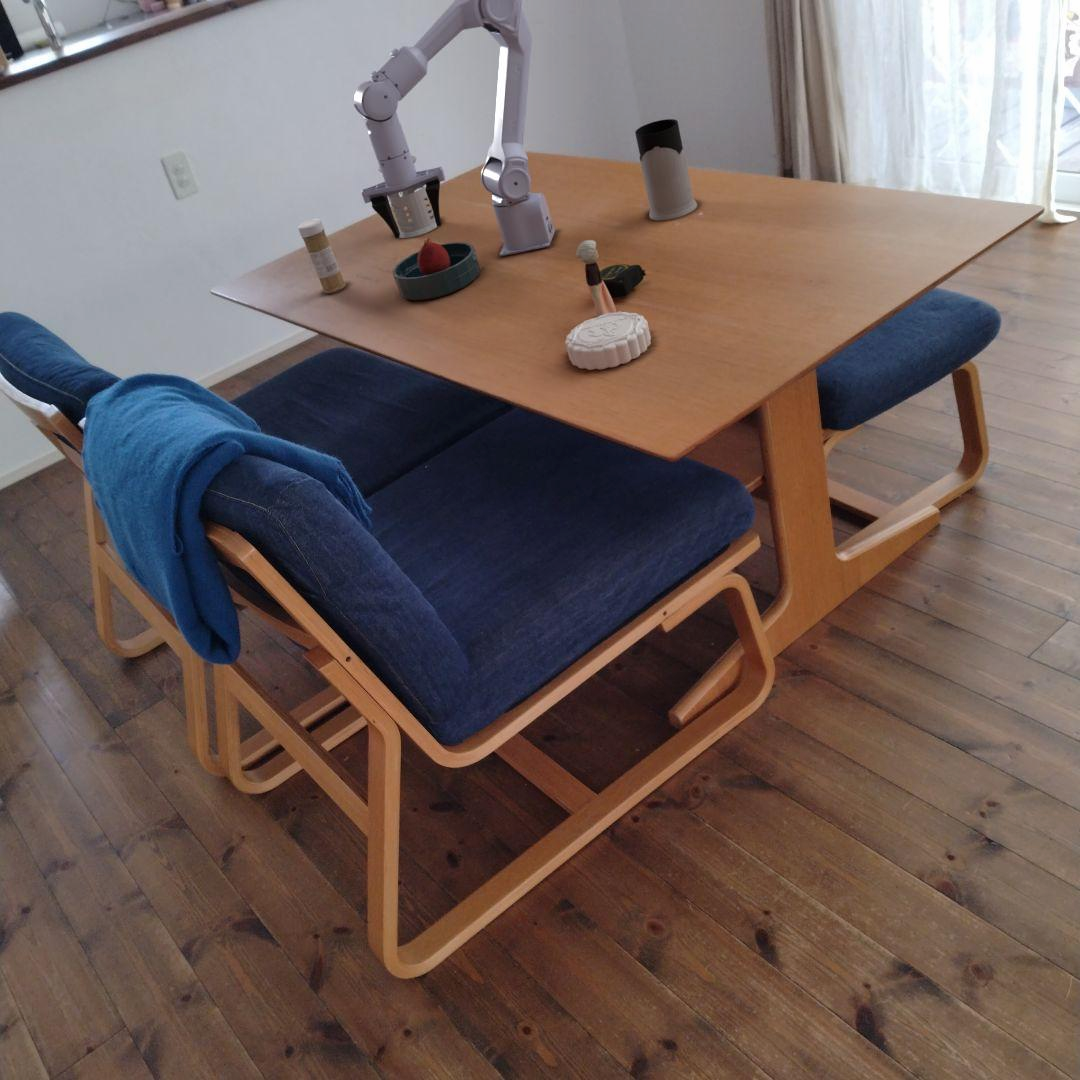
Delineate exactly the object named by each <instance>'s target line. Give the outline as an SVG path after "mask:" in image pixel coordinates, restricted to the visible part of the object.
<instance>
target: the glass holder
mask: <svg viewBox="0 0 1080 1080" xmlns="http://www.w3.org/2000/svg"><path fill="white" fill-rule="evenodd" d="M634 133H635V138H636V144H637V148H638V154H639V163H640V167H641V173H642V176H643V181H644V186H645V191H646V195H647V200H648V205H649V215H648V217H649V218H650V219H651V220H654V221H668V220H669V221H670V220H673V219H674V220H675V219H678V218H681V217H684V216H686V215H688V214H690V213H692V212H693V211H694V210H696V208H697V207H698V203H697V201H696V200H695V197H694V194H693V190H692V184H691V178H690V173H689V167H688V163H687V157H686V153H685V152H686V151H685V147H683V143H682V142H683V141H682V137H681V132H680V126H679V122H678V120H677V119H674V118H665V119H660V120H656V121H651V122H650V123H647V124H644V125H642V126H640V127H638V128H637V129H636V130H635V132H634Z"/></svg>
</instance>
